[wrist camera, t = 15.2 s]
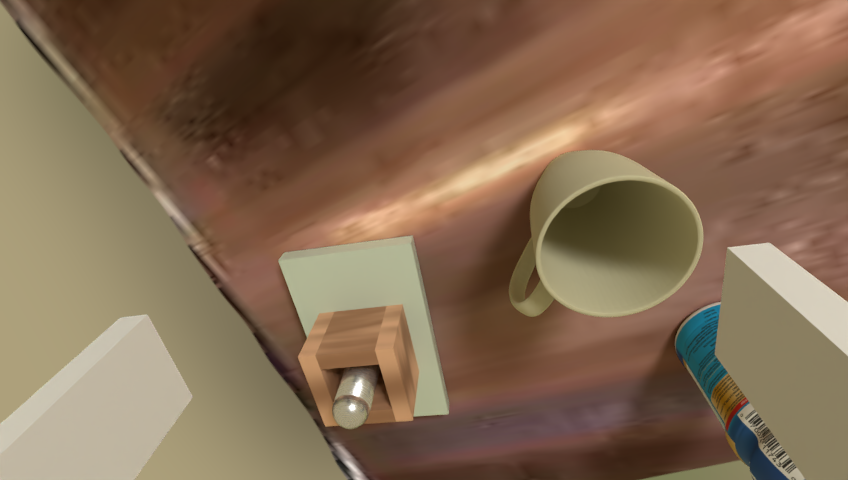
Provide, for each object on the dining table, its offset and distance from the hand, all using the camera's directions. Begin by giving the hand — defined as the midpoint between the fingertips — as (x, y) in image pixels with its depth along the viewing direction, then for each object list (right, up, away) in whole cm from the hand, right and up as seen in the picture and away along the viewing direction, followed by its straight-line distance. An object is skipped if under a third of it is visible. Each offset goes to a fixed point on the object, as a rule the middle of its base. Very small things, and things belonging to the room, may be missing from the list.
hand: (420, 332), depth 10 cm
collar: (-5, -8, +33) cm, 34 cm away
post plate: (-5, -7, +34) cm, 35 cm away
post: (-5, -8, +33) cm, 34 cm away
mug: (+12, +6, +26) cm, 29 cm away
